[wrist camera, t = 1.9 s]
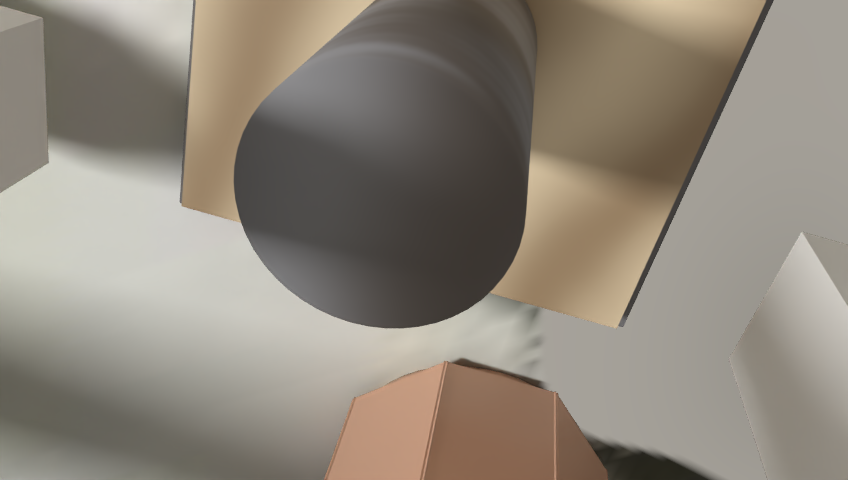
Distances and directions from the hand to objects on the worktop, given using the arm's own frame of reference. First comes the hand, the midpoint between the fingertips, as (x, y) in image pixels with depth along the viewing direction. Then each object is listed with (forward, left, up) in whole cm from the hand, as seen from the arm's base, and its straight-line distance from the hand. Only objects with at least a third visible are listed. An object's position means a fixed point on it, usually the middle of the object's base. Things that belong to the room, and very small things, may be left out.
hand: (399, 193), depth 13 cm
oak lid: (0, 0, -12) cm, 12 cm away
